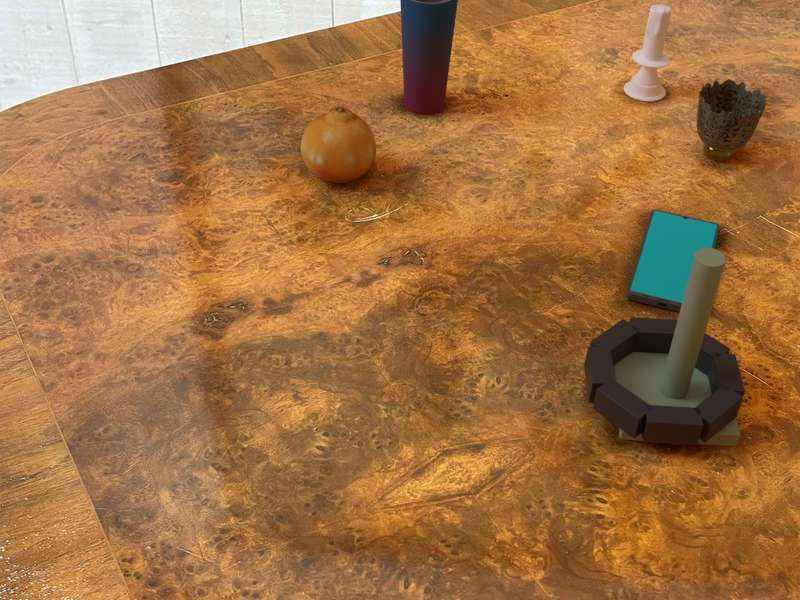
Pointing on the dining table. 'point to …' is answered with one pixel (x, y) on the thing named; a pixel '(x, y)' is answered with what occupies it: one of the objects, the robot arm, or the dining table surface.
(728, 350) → the ring
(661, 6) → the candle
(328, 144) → the fruit
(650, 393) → the post
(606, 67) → the dining table surface
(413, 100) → the cup
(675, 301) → the smartphone
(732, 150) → the cup
